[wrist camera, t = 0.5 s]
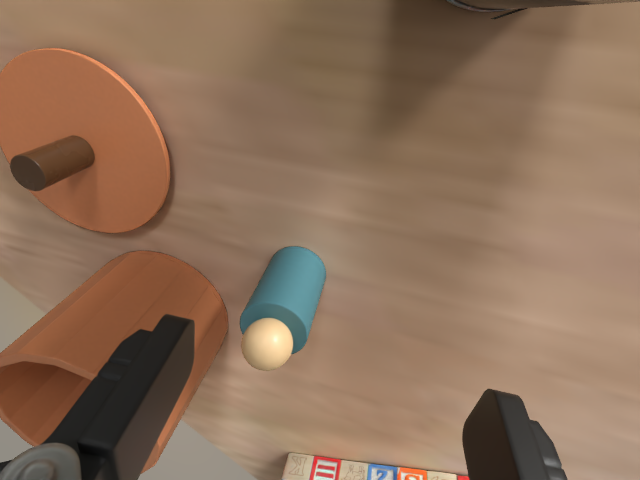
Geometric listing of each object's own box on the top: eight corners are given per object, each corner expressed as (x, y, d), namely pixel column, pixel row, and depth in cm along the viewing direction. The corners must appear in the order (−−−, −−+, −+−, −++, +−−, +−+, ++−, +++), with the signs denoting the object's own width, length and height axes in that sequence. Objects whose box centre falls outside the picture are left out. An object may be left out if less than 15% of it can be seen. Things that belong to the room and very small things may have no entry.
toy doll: (280, 237, 30) (232, 322, 22) (334, 260, 30) (308, 353, 22) (263, 280, 33) (215, 371, 24) (314, 301, 33) (283, 400, 24)
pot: (106, 228, 33) (-28, 324, 23) (242, 286, 33) (170, 406, 23) (98, 325, 40) (-8, 434, 29) (212, 373, 40) (146, 497, 30)
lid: (-3, 13, 26) (-98, 13, 21) (189, 96, 26) (139, 115, 21) (11, 187, 33) (-58, 217, 28) (161, 251, 33) (119, 291, 28)
